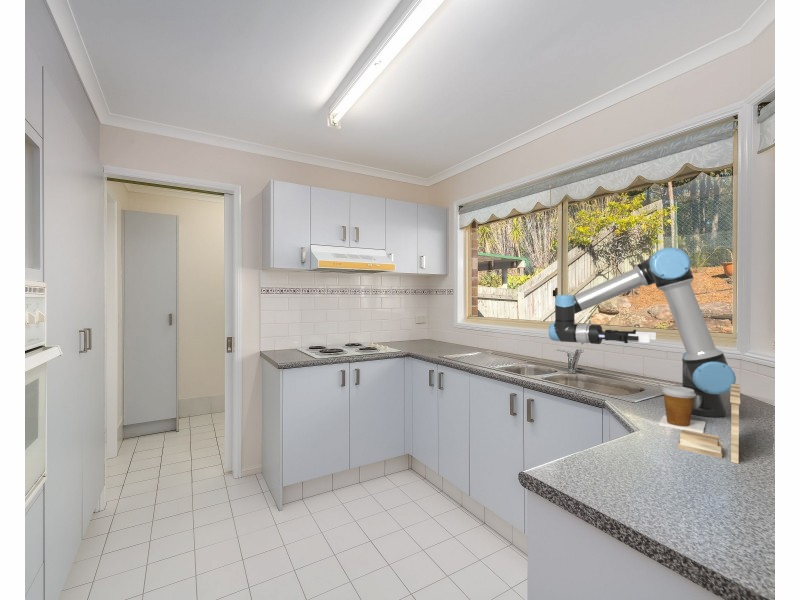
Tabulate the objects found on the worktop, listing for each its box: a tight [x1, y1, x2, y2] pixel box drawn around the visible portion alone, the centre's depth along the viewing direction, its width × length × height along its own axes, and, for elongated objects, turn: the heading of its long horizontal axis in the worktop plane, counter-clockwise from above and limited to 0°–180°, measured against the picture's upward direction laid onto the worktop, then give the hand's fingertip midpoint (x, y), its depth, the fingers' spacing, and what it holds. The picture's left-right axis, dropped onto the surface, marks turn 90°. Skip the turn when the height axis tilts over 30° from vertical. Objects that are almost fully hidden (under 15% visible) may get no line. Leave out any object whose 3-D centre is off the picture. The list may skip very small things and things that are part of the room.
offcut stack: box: [677, 429, 724, 459], centre depth 111 cm, size 6×10×5 cm, turn 47°
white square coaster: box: [658, 414, 706, 434], centre depth 134 cm, size 12×12×1 cm
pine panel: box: [729, 383, 741, 465], centre depth 112 cm, size 25×2×17 cm, turn 139°
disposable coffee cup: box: [661, 385, 696, 426], centre depth 132 cm, size 10×10×12 cm
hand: (653, 337), depth 139 cm, fingers open, 13 cm apart
